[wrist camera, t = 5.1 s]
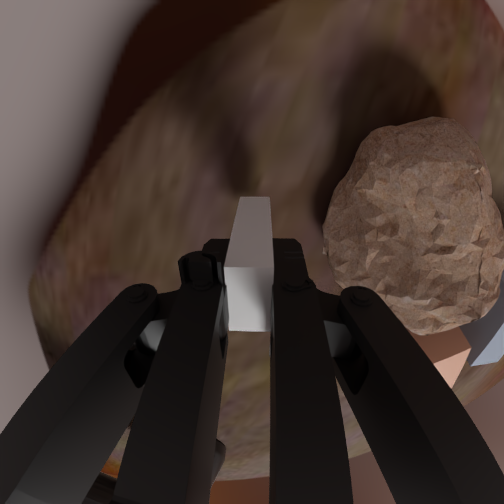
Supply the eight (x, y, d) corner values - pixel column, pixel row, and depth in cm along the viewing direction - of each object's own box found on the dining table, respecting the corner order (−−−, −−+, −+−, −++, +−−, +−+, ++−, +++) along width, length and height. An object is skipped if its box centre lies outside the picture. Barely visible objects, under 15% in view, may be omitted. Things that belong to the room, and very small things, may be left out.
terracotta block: (376, 359, 23) (392, 410, 18) (380, 316, 20) (403, 374, 15) (429, 342, 22) (451, 388, 17) (440, 298, 19) (471, 347, 14)
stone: (412, 271, 21) (513, 301, 12) (336, 336, 18) (455, 405, 9) (382, 123, 17) (508, 108, 8) (281, 154, 14) (466, 121, 5)
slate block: (443, 319, 21) (470, 366, 15) (479, 256, 17) (518, 299, 12) (472, 320, 21) (497, 361, 16) (505, 264, 18) (539, 302, 12)
